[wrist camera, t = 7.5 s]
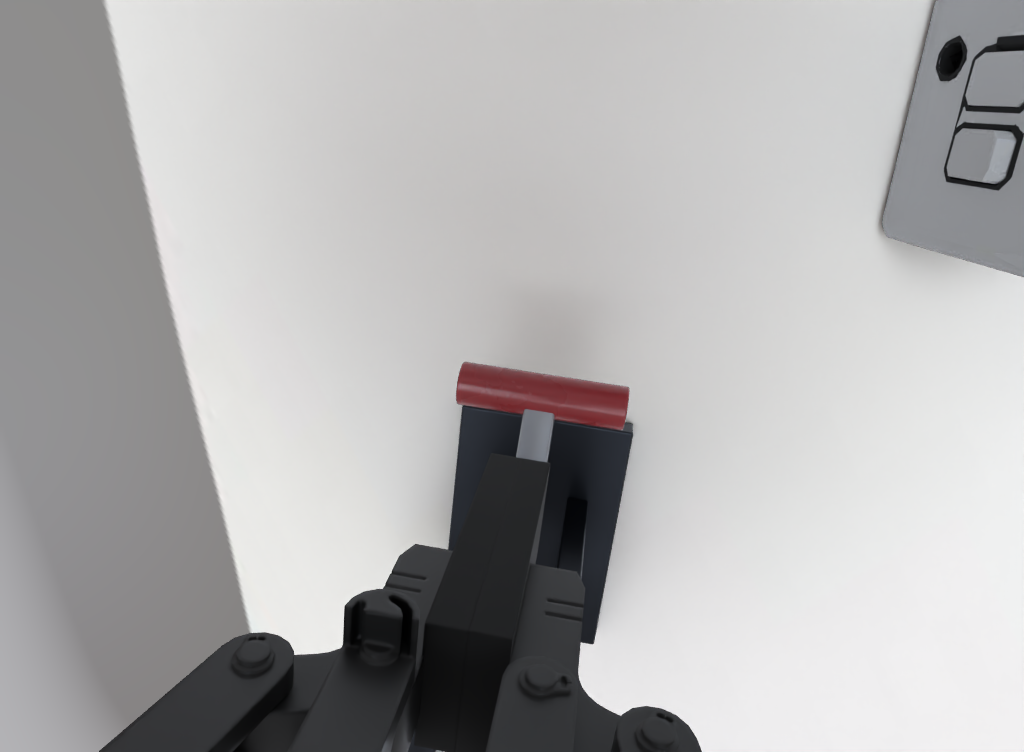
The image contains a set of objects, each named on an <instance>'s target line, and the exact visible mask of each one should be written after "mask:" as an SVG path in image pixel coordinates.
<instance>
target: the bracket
mask: <svg viewBox="0 0 1024 752" xmlns="http://www.w3.org/2000/svg"><path fill="white" fill-rule="evenodd" d="M522 418H523V415H522V414H516V413H510V412H503V411H497V410H491V409H485V408H479V407H472V406H466V405H463V407H462V415H461V425H460V436H459V446H458V456H457V466H456V476H455V486H454V496H453V506H452V517H451V527H450V537H449V547H448V550H451V551H453V549H454V547H455V544H456V542H457V539H458V537H459V534H460V531H461V529H462V526H463V524H464V521H465V519H466V516H467V514H468V511H469V508H470V506H471V503H472V501H473V498H474V496H475V493H476V490H477V488H478V485H479V483H480V480H481V478H482V475H483V473H484V470H485V467H486V465H487V462H488V460H489V457H490V455H491V453H494V454H500V455H506V456H512V457H516V455H517V449H518V442H519V436H520V430H521V424H522ZM632 437H633V425H632V424H631V423H625V424H624V428H623V430H615V429H609V428H603V427H597V426H590V425H584V424H578V423H572V422H566V421H559V420H554V426H553V432H552V439H551V445H550V451H549V457H548V463H551V464H550V471H549V477H548V484H547V491H546V498H545V505H544V511H543V518H542V525H541V532H540V539H539V545H538V552H537V558H536V563H535V564H537V565H543V566H548V567H554V568H559V569H565V570H570V571H576V572H577V573H578V575H579V577H580V579H581V581H582V583H583V585H584V587H585V598H584V607H583V608H584V609H583V619H582V632H581V642H582V643H588V644H594V640H595V635H596V630H597V624H598V619H599V614H600V608H601V603H602V598H603V592H604V587H605V582H606V576H607V571H608V566H609V560H610V555H611V550H612V544H613V539H614V533H615V528H616V523H617V517H618V512H619V507H620V501H621V496H622V491H623V485H624V480H625V475H626V469H627V464H628V459H629V453H630V448H631V443H632ZM414 740H415V732H414V734H413V737H412V740H411V743H410V746H409V749H408V752H443V751H439V750H434V749H429V748H424V747H420V746H415V745H414Z"/></svg>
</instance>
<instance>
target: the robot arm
mask: <svg viewBox="0 0 1024 752" xmlns="http://www.w3.org/2000/svg"><path fill="white" fill-rule="evenodd" d="M550 464H551V463H548V462H542V461H536V460H530V459H524V458H518V457H512V456H506V455H500V454H494V453H491V455H490V457H489V460H488V462H487V465H486V467H485V470H484V473H483V475H482V478H481V480H480V483H479V485H478V488H477V490H476V493H475V496H474V498H473V501H472V503H471V506H470V508H469V511H468V514H467V516H466V519H465V521H464V524H463V526H462V529H461V531H460V534H459V537H458V539H457V542H456V544H455V547H454V549H453V551H451V550H446V549H440V548H435V547H429V546H424V545H418V544H415V545H414V546H412V547H411V548H410V549H408V550H407V551H405V552H404V553H403V554H401V555H400V556H399V558H398V560H397V562H396V564H395V566H394V568H393V570H392V573H391V574H390V576H389V578H388V580H387V582H386V585H385V586H384V588H383V589H376V590H370V591H365V592H363V593H361V594H359V595H357V596H355V597H353V598H352V599H351V600H350V601H349V602H348V603H347V604H346V605H345V611H344V635H343V646H342V648H340V649H338V650H335V651H331V652H328V653H320V654H307V655H294V651H293V649H292V647H291V645H290V643H289V642H288V641H286V640H285V639H283V638H282V637H280V636H278V635H274V634H270V633H249V634H246V635H242V636H239V637H236V638H234V639H232V640H230V641H229V642H227V643H226V644H224V645H222V646H221V647H220V648H219V649H218V650H217V651H215V652H214V653H213V654H212V655H211V656H210V657H208V658H207V659H206V660H205V661H204V662H203V663H201V664H200V665H199V666H198V667H197V668H196V669H194V670H193V671H192V672H191V673H190V674H189V675H187V676H186V677H185V678H184V679H183V680H182V681H180V682H179V683H178V684H177V685H176V686H175V687H173V688H172V689H171V690H170V691H169V692H168V693H167V694H165V695H164V696H163V697H162V698H161V699H159V700H158V701H157V702H156V703H155V704H154V705H152V706H151V707H150V708H149V709H148V710H147V711H146V712H144V713H143V714H142V715H141V716H140V717H138V718H137V719H136V720H135V721H134V722H133V723H132V724H130V725H129V726H128V727H127V728H126V729H124V730H123V731H122V732H121V733H120V734H119V735H118V736H117V737H115V738H114V739H113V740H112V741H111V742H109V743H108V744H107V745H106V746H105V747H103V748H102V749H101V750H100V751H99V752H408V749H409V746H410V743H411V740H412V737H413V734H414V732H415V740H414V745H415V746H420V747H424V748H429V749H434V750H439V751H444V752H702V751H701V748H700V746H699V743H698V741H697V738H696V737H695V735H694V733H693V732H692V730H691V729H690V727H689V726H688V725H687V724H686V723H685V722H684V721H682V720H681V719H680V718H679V717H678V716H676V715H674V714H672V713H670V712H668V711H666V710H664V709H661V708H655V707H649V706H644V707H637V708H632V709H631V710H629V711H627V712H626V713H624V714H623V715H622V716H619V715H617V714H615V713H613V712H611V711H609V710H607V709H605V708H604V707H602V706H600V705H599V704H597V703H596V702H595V701H594V700H592V699H591V698H590V697H589V696H588V695H587V693H586V692H585V691H584V689H583V688H582V686H581V683H580V681H579V676H578V665H579V654H580V643H581V632H582V619H583V609H584V608H583V607H584V598H585V587H584V585H583V583H582V581H581V579H580V577H579V575H578V573H577V572H576V571H570V570H565V569H559V568H554V567H548V566H543V565H537V564H535V563H536V558H537V552H538V545H539V539H540V532H541V525H542V518H543V511H544V505H545V498H546V491H547V484H548V477H549V471H550Z"/></svg>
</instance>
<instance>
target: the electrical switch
mask: <svg viewBox="0 0 1024 752" xmlns="http://www.w3.org/2000/svg"><path fill="white" fill-rule="evenodd" d="M882 226H883V229H884V231H885V234H886V236H887V237H890V238H893V239H896V240H899V241H902V242H905V243H908V244H911V245H915V246H918V247H922V248H925V249H929V250H932V251H935V252H939V253H942V254H946V255H949V256H953V257H956V258H959V259H963V260H966V261H970V262H973V263H977V264H980V265H984V266H987V267H990V268H994V269H997V270H1001V271H1004V272H1008V273H1011V274H1014V275H1018V276H1021V277H1024V0H936V2H935V5H934V9H933V13H932V17H931V22H930V26H929V30H928V34H927V38H926V42H925V46H924V50H923V55H922V59H921V63H920V67H919V71H918V75H917V79H916V83H915V88H914V92H913V96H912V100H911V104H910V108H909V112H908V116H907V121H906V125H905V129H904V133H903V137H902V141H901V145H900V149H899V154H898V158H897V162H896V166H895V170H894V174H893V178H892V182H891V187H890V191H889V195H888V199H887V203H886V207H885V211H884V215H883V220H882Z"/></svg>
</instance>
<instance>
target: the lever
mask: <svg viewBox="0 0 1024 752" xmlns="http://www.w3.org/2000/svg"><path fill="white" fill-rule="evenodd" d="M628 400H629V387H624V386H618V385H612V384H605V383H599V382H592V381H586V380H579V379H573V378H567V377H560V376H554V375H547V374H541V373H534V372H528V371H522V370H515V369H509V368H502V367H496V366H489V365H483V364H477V363H470V362H464V363H463V364H462V366H461V369H460V373H459V377H458V382H457V390H456V401H457V404H460V405H466V406H472V407H479V408H485V409H491V410H497V411H503V412H510V413H516V414H522V415H523V418H522V424H521V430H520V436H519V442H518V449H517V455H516V457H518V458H524V459H530V460H536V461H542V462H548V457H549V451H550V445H551V439H552V432H553V426H554V420H559V421H566V422H572V423H578V424H584V425H590V426H597V427H603V428H609V429H615V430H623V428H624V424H625V419H626V414H627V407H628Z"/></svg>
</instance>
